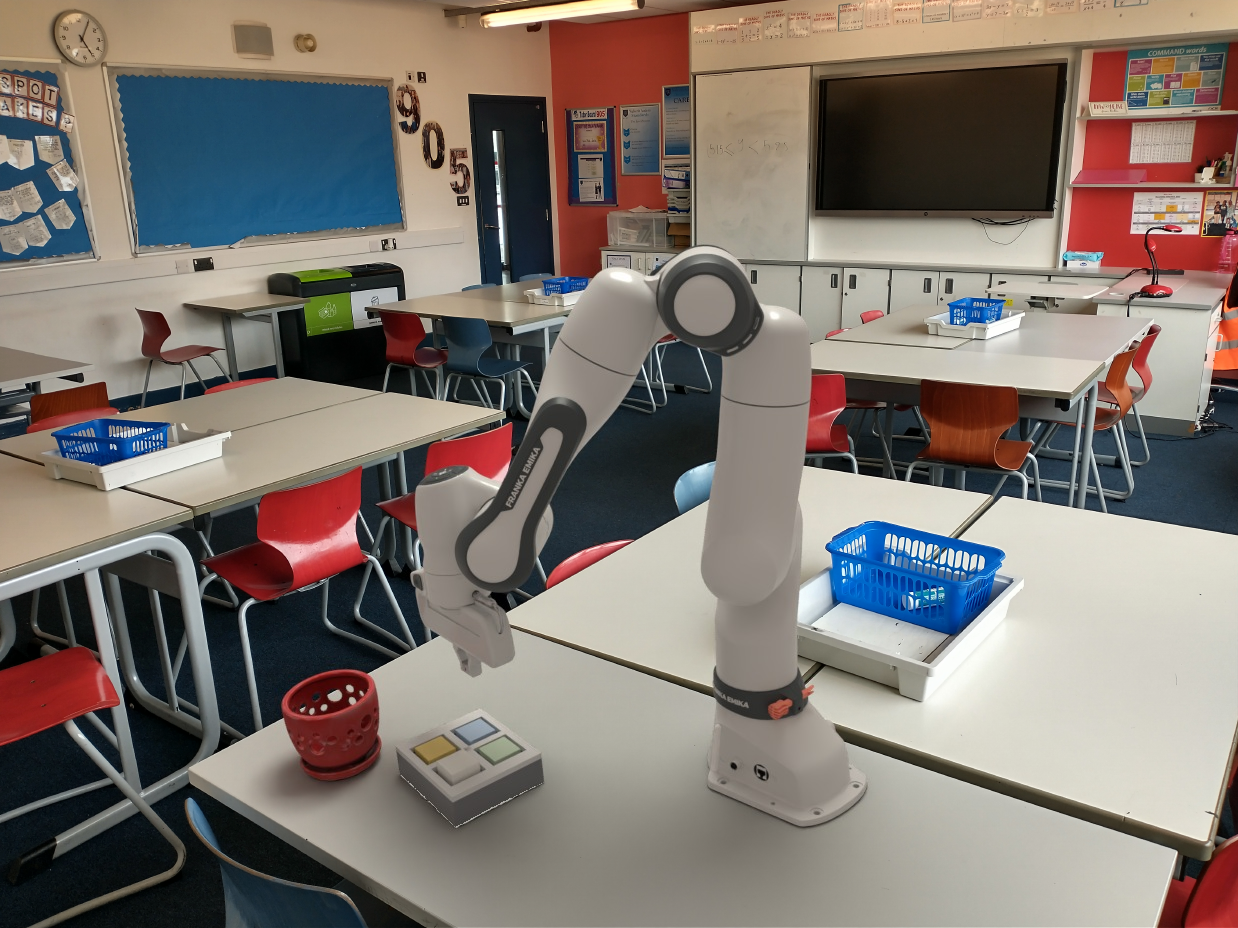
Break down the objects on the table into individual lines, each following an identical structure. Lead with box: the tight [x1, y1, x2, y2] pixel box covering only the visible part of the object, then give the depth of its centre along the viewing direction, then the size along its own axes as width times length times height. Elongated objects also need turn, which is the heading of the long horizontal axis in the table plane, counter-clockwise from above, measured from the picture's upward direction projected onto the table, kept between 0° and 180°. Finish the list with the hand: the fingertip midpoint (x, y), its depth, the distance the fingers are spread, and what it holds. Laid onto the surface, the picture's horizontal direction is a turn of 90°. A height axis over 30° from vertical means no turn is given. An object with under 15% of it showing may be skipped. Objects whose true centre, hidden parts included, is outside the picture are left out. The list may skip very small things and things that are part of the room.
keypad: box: [394, 708, 545, 828], centre depth 133 cm, size 16×14×5 cm
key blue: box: [455, 719, 496, 754], centre depth 137 cm, size 4×4×3 cm
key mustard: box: [415, 736, 456, 774], centre depth 133 cm, size 4×4×3 cm
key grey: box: [436, 749, 481, 787], centre depth 128 cm, size 4×4×3 cm
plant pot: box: [281, 669, 383, 781], centre depth 137 cm, size 13×13×12 cm
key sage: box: [479, 737, 521, 766], centre depth 132 cm, size 4×4×3 cm
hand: (471, 672), depth 134 cm, fingers closed
